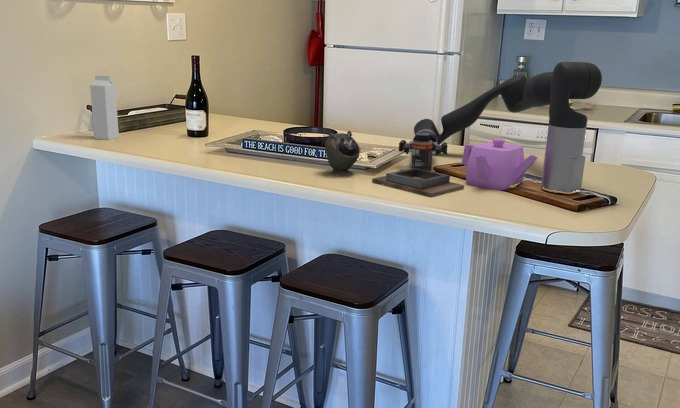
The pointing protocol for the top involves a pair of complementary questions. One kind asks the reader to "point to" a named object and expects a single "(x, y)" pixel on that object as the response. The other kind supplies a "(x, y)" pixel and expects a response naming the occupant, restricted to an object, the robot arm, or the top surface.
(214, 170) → the top surface
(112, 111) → the milk
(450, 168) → the top surface
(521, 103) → the robot arm
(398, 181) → the socket collar
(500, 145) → the teakettle
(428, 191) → the dock board
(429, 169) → the supplement bottle
